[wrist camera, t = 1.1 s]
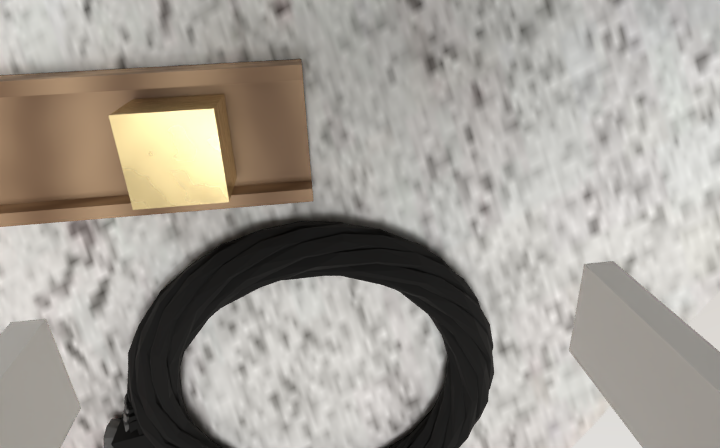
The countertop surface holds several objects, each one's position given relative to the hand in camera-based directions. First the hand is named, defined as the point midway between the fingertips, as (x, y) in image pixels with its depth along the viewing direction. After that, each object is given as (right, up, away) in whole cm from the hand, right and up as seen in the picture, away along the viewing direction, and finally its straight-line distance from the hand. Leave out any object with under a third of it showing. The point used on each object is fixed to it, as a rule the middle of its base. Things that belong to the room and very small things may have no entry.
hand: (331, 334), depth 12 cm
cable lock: (-4, -9, +27) cm, 29 cm away
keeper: (-9, +8, +16) cm, 20 cm away
